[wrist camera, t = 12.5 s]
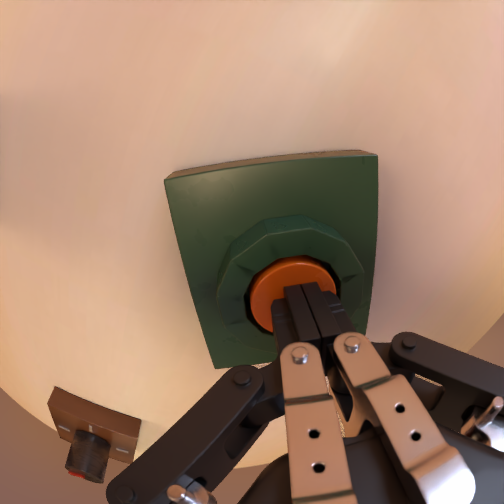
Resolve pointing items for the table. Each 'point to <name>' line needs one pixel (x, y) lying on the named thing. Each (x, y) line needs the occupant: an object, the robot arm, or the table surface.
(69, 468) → the knob
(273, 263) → the button
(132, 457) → the panel
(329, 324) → the robot arm
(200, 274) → the button box
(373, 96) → the table surface
